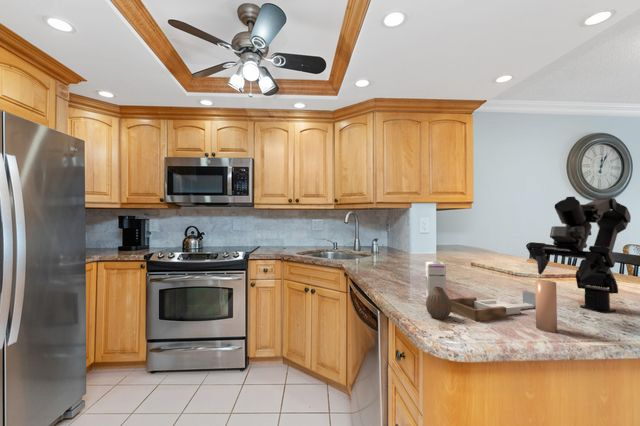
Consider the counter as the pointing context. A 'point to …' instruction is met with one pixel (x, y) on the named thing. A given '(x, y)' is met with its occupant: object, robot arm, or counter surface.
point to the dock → (476, 310)
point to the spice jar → (546, 305)
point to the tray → (527, 303)
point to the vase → (438, 303)
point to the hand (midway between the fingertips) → (558, 276)
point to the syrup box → (435, 276)
